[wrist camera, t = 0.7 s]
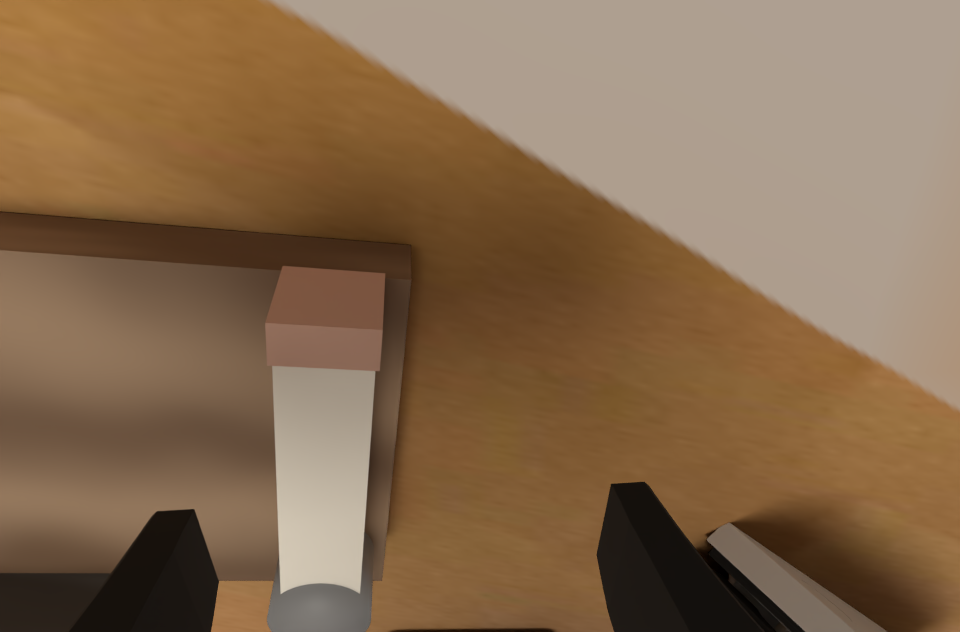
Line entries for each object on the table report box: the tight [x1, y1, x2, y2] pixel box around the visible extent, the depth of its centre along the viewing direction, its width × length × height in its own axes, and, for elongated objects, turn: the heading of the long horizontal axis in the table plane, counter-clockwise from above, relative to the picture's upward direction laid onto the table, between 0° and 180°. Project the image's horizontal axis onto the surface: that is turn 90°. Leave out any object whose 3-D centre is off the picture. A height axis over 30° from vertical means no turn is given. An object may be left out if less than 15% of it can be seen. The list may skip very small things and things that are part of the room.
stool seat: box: [0, 212, 411, 632], centre depth 20 cm, size 14×16×5 cm
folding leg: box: [265, 266, 385, 632], centre depth 19 cm, size 13×3×3 cm, turn 172°
